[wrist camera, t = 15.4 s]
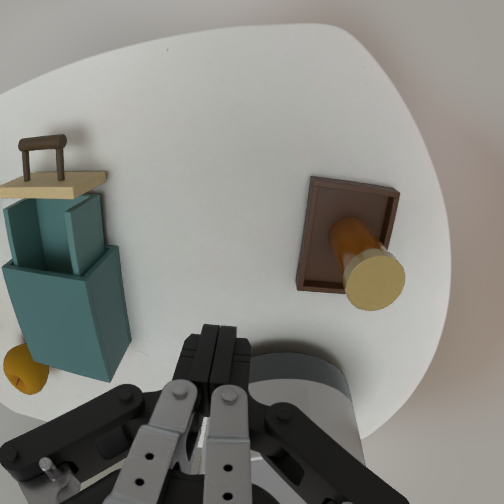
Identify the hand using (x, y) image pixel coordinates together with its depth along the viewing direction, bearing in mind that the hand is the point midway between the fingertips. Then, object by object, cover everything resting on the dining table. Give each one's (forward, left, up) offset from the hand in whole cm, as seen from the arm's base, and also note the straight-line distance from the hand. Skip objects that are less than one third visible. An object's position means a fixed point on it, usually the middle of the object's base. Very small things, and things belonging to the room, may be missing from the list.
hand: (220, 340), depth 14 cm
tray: (+2, +11, -21) cm, 24 cm away
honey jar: (+2, +11, -20) cm, 23 cm away
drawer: (+1, -21, -20) cm, 29 cm away
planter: (+26, +7, -21) cm, 34 cm away
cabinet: (+13, -21, -21) cm, 33 cm away
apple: (+28, -35, -21) cm, 50 cm away
